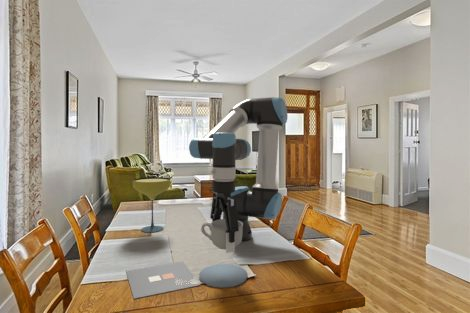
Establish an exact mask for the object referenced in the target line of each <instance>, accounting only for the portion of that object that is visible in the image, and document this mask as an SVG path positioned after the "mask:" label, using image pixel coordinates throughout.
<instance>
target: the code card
mask: <svg viewBox="0 0 470 313" xmlns="http://www.w3.org/2000/svg"><path fill="white" fill-rule="evenodd" d="M125 272H126V276H127V279H128V283H129V288H130V290H131V294H132V298H133V300H136V299H137V300H138V299H141V298H146V297H150V296H156V295H161V294H165V293H171V292H175V291H181V290H185V289H189V288H195V287H200V286H201V284H199V283H200V282H199V283H198V284H191V283H190V282H191V281H190V280H191V279H194V278H193V277H195V276H194V274H193V273H192V271H191V270H190V269H189V267H188V266H187V264H186V263H185V262H184V261H177V262H170V263H165V264H158V265H154V266H147V267H142V268H135V269H129V270H126V271H125ZM176 278H177V279H178V280H179V279H180V280H181V279H182V280H183V282H184V281H185V280H186V281H187V282H186V281H185V282H184V283H183V282H182V285H181V283H180V284H179V285H178V283H177V285H176V283H175V281H176V280H177V279H176ZM175 279H176V280H175ZM182 280H181V281H182ZM181 281H180V282H181ZM188 281H190V282H188ZM178 282H179V281H178ZM186 283H187V284H186ZM188 283H189V284H188ZM199 285H200V286H199Z"/></svg>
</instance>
